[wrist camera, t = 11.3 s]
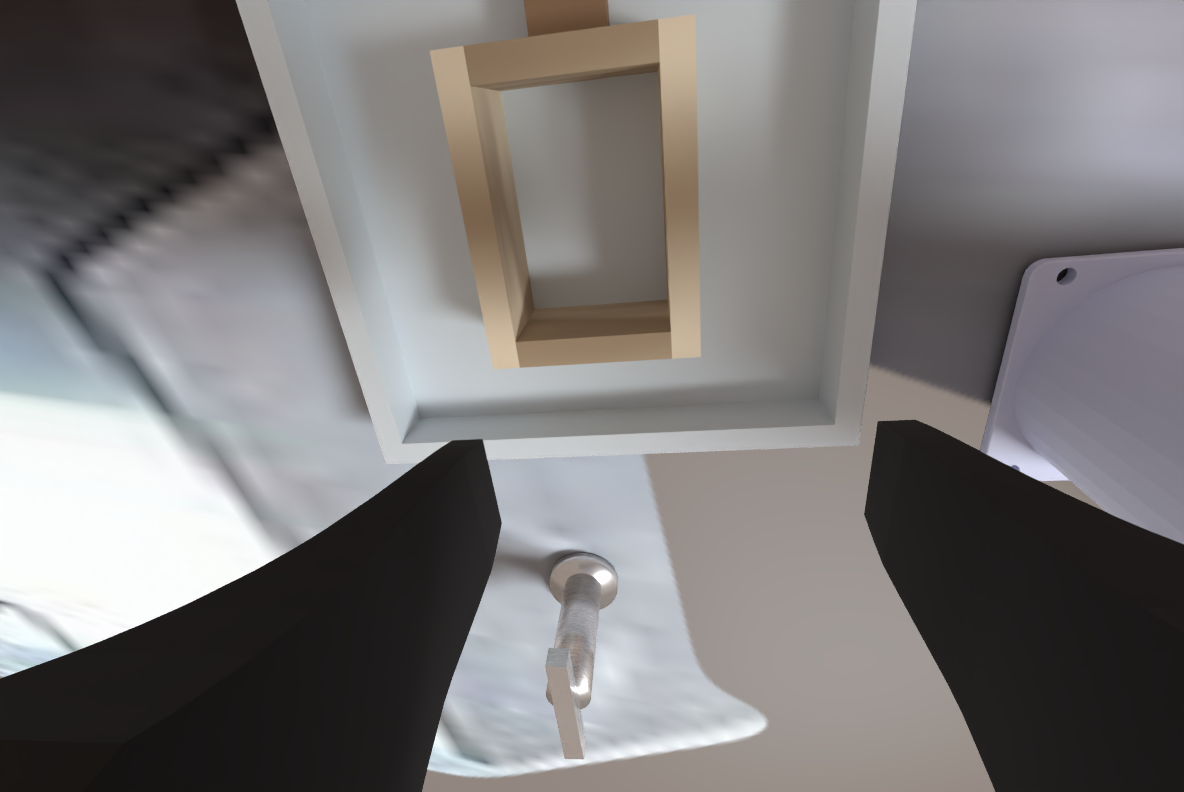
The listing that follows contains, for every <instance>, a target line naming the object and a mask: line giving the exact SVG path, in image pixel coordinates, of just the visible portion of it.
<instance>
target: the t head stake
mask: <svg viewBox="0 0 1184 792" xmlns="http://www.w3.org/2000/svg"><path fill="white" fill-rule="evenodd" d="M549 587H550V591H551V593H552V595H553V596H554V598H555V599H556V600H557V601H558V602H559V603H561V604H562V605H561V610H560V616H559V622H558V627H557V633H556V639H555V644H554V648H549V650H548V655H547V660H546V666H545V667H546V672H547V677H548V684H547V690H546V697H547V699H548V701H549V702H550V703H551V704H552V705H554V710H555V715H556V719H557V724H558V729H559V734H560V738H561V743H562V748H563V752H564V757H565V759H584V752H585V742H586V739H585V733H584V728H583V722H582V716H581V711H580V709H583V708H585V707H586V706H587V705H588V704H589V703H590V700H591V690H592V680H593V669H594V659H595V649H596V639H597V628H598V618H599V610H600V609H603V608H605V607H606V606H608V605H609V604H610V603H612V601H613V600H614V599H615V597H616V594H617V588H618V577H617V573H616V571H615V569H614V568H613V566H612V565H611V564H610V563H609V562H607V561H606V560H605V559H603V558H601V557H599V556H596V555H593V554H589V553H574V554H570V555H567V556H564V557H563V558H561V559H560V560H558V561H557V562H556V563H555V565H554V566H553V568H552V571H551V576H550V581H549Z"/></svg>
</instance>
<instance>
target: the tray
mask: <svg viewBox="0 0 1184 792" xmlns="http://www.w3.org/2000/svg"><path fill="white" fill-rule="evenodd" d="M236 3H237V6H238V9H239V12H240V15H241V18H242V22H243V25H244V28H245V31H246V34H247V37H248V40H249V43H250V46H251V49H252V52H253V55H254V59H255V62H256V65H257V68H258V71H259V74H260V77H261V80H262V83H263V86H264V89H265V92H266V96H267V99H268V102H269V105H270V108H271V111H272V114H273V117H274V120H275V123H276V126H277V129H278V133H279V136H280V139H281V142H282V145H283V148H284V151H285V154H286V157H287V160H288V163H289V166H290V169H291V173H292V176H293V179H294V182H295V185H296V188H297V191H298V194H299V197H300V200H301V203H302V206H303V210H304V213H305V216H306V219H307V222H308V225H309V228H310V231H311V234H312V237H313V240H314V243H315V247H316V250H317V253H318V256H319V259H320V262H321V265H322V268H323V271H324V274H325V277H326V280H327V284H328V287H329V290H330V293H331V296H332V299H333V302H334V305H335V308H336V311H337V314H338V317H339V321H340V324H341V327H342V330H343V333H344V336H345V339H346V342H347V345H348V348H349V351H350V354H351V358H352V361H353V364H354V367H355V370H356V373H357V376H358V379H359V382H360V385H361V388H362V391H363V395H364V398H365V401H366V404H367V407H368V410H369V413H370V416H371V419H372V422H373V425H374V428H375V431H376V435H377V438H378V441H379V444H380V447H381V450H382V453H383V456H384V459H385V462H386V464H399V463H420V462H421V461H423V460H424V459H425V458H427V457H428V456H429V455H431V454H432V453H434V452H435V451H437V450H438V449H439V448H441V447H442V446H444V445H446V444H447V443H449V442H451V441H452V440H471V439H483V443H484V447H485V452H486V456H487V460H501V459H526V458H552V457H577V456H603V455H628V454H652V453H676V452H677V453H679V452H703V451H730V450H752V449H753V450H755V449H781V448H805V447H831V446H854V445H855V446H857V445H859V439H860V432H861V424H862V416H863V409H864V401H865V394H866V386H867V378H868V371H869V363H870V355H871V348H872V340H873V333H874V325H875V317H876V310H877V302H878V295H879V287H880V279H881V272H882V264H883V256H884V249H885V241H886V234H887V226H888V218H889V211H890V203H891V196H892V188H893V180H894V173H895V165H896V157H897V150H898V142H899V135H900V127H901V119H902V112H903V104H904V97H905V89H906V81H907V74H908V66H909V58H910V51H911V43H912V36H913V28H914V20H915V13H916V5H917V0H608V7H609V21H610V26H612V25H619V24H627V23H634V22H641V21H648V20H656V19H663V18H670V17H678V16H685V15H692V14H696V74H697V137H698V201H699V265H700V328H701V357H693V358H676V359H659V360H642V361H625V362H608V363H592V364H575V365H558V366H541V367H524V368H507V369H493V365H492V360H491V355H490V350H489V345H488V340H487V335H486V330H485V325H484V320H483V315H482V310H481V305H480V300H479V295H478V290H477V285H476V280H475V275H474V270H473V265H472V260H471V255H470V250H469V245H468V240H467V235H466V230H465V225H464V220H463V215H462V210H461V205H460V200H459V195H458V190H457V185H456V180H455V175H454V170H453V165H452V160H451V155H450V150H449V145H448V140H447V135H446V130H445V126H444V121H443V116H442V111H441V106H440V101H439V96H438V91H437V86H436V81H435V76H434V71H433V66H432V61H431V56H430V50H437V49H444V48H452V47H459V46H466V45H473V44H481V43H488V42H495V41H503V40H510V39H517V38H525V37H528V30H527V23H526V15H525V7H524V0H236ZM501 97H502V103H503V110H504V116H505V122H506V129H507V135H508V142H509V148H510V155H511V161H512V167H513V174H514V180H515V187H516V193H517V200H518V206H519V213H520V219H521V225H522V232H523V238H524V245H525V251H526V258H527V264H528V270H529V277H530V283H531V290H532V296H533V303H534V309H545V308H559V307H572V306H586V305H600V304H614V303H627V302H641V301H655V300H667V278H666V255H665V231H664V208H663V185H662V161H661V138H660V115H659V92H658V72H651V73H643V74H635V75H627V76H619V77H611V78H603V79H595V80H587V81H579V82H571V83H563V84H555V85H547V86H539V87H531V88H523V89H515V90H507V91H501Z"/></svg>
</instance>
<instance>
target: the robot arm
mask: <svg viewBox="0 0 1184 792" xmlns="http://www.w3.org/2000/svg"><path fill="white" fill-rule="evenodd" d="M1066 268H1067V269H1068V273H1067V274H1066V276H1065V277H1064V278H1063V279H1062V280H1060V281H1057V276H1058V274H1059V273H1060V272H1061V271H1062V270H1063V269H1066ZM1011 465H1013V466H1012V467H1010V466H1011ZM1057 480H1070V481H1071V482H1072V483H1074V484H1075V485H1076V486H1077V487H1078V488H1079V489H1081V490H1082V491H1083V492H1084V493H1085V494H1086V495H1088V496H1089V497H1090V498H1091V499H1092V500H1093V501H1094V502H1096V503H1097V504H1098V505H1099V506H1100V507H1101V508H1103V509H1104V510H1105V511H1106V512H1105V511H1102V510H1100V509H1098V508H1096V507H1093V506H1091V505H1089V504H1087V503H1085V502H1082V501H1080V500H1078V499H1076V498H1074V497H1071V496H1069V495H1067V494H1065V493H1063V492H1061V491H1059V490H1057V489H1055V488H1053V487H1051V486H1048V485H1046V484H1044V483H1042V482H1040V481H1057ZM864 515H865V518H866V520H867V523H868V526H869V529H870V532H871V535H872V537H873V540H874V543H875V545H876V548H877V550H878V553H879V555H880V558H881V561H882V563H883V565H884V567H885V569H886V571H887V573H888V575H889V577H890V579H891V581H892V583H893V584H894V586H895V588H896V590H897V592H898V594H899V596H900V597H901V599H902V601H903V603H904V605H905V607H906V609H907V610H908V612H909V614H910V616H911V618H912V620H913V621H914V623H915V625H916V627H917V628H918V631H919V632H920V634H921V636H922V638H923V640H924V641H925V643H926V645H927V647H928V649H929V650H930V652H931V654H932V656H933V658H934V660H935V662H936V663H937V665H938V667H939V669H940V670H941V672H942V674H943V676H944V678H945V680H946V682H947V683H948V685H949V687H950V689H951V691H952V694H953V695H954V698H955V700H956V702H957V704H958V705H959V708H960V710H961V712H962V714H963V716H964V718H965V721H966V723H967V725H968V728H969V730H970V732H971V735H972V737H973V740H974V742H975V744H976V746H977V749H978V751H979V754H980V756H981V758H982V761H983V763H984V765H985V768H986V770H987V772H988V775H989V777H990V779H991V782H992V784H993V787H994V789H995V792H1184V248H1175V249H1162V250H1149V251H1136V252H1123V253H1110V254H1097V255H1084V256H1071V257H1058V258H1045V259H1041V260H1038V261H1036V262H1034V263H1033V264H1031V265H1030V266H1029V267H1028V268H1027V269H1026V271H1025V273H1024V275H1023V278H1022V282H1021V286H1020V290H1019V294H1018V298H1017V302H1016V306H1015V311H1014V315H1013V319H1012V323H1011V327H1010V331H1009V335H1008V339H1007V343H1006V347H1005V351H1004V355H1003V359H1002V363H1001V367H1000V371H999V375H998V379H997V383H996V387H995V391H994V395H993V399H992V403H991V407H990V412H989V415H988V419H987V424H986V428H985V432H984V436H983V440H982V444H981V448H980V451H979V450H977V449H975V448H973V447H971V446H969V445H967V444H965V443H963V442H961V441H960V440H957V439H956V438H954V437H952V436H950V435H947V434H945V433H944V432H942V431H940V430H937V429H935V428H933V427H931V426H929V425H927V424H924V423H922V422H919V421H917V420H899V421H878V424H877V431H876V438H875V445H874V452H873V458H872V465H871V472H870V479H869V486H868V493H867V500H866V506H865V513H864ZM501 524H502V523H501V518H500V514H499V509H498V505H497V500H496V496H495V491H494V487H493V483H492V478H491V474H490V469H489V465H488V460H487V456H486V452H485V447H484V443H483V439H471V440H452V441H451V442H449V443H447V444H446V445H444V446H442V447H441V448H439V449H438V450H437V451H435V452H434V453H432V454H431V455H429V456H428V457H427V458H425V459H424V460H423V461H421V462H420V463H419V464H417V465H416V466H414V467H413V468H412V469H410V470H409V471H408V472H406V473H405V474H404V475H402V476H401V477H400V478H398V479H397V480H395V481H394V482H393V483H391V484H390V485H389V486H387V487H386V488H385V489H383V490H382V491H381V492H379V493H378V494H376V495H375V496H374V497H372V498H371V499H369V500H368V501H366V502H365V503H363V504H362V505H360V506H359V507H358V508H356V509H355V510H353V511H352V512H350V513H349V514H347V515H346V516H344V517H343V518H341V519H340V520H338V521H337V522H335V523H334V524H332V525H331V526H329V527H328V528H327V529H325V530H323V531H322V532H320V533H319V534H317V535H316V536H314V537H312V538H311V539H309V540H307V541H306V542H304V543H302V544H301V545H299V546H297V547H296V548H294V549H292V550H291V551H289V552H287V553H285V554H283V555H282V556H280V557H278V558H276V559H275V560H273V561H271V562H269V563H268V564H266V565H264V566H262V567H260V568H259V569H257V570H255V571H253V572H251V573H249V574H247V575H245V576H243V577H241V578H239V579H237V580H235V581H233V582H231V583H229V584H227V585H225V586H223V587H221V588H219V589H217V590H215V591H213V592H211V593H209V594H207V595H205V596H203V597H201V598H199V599H197V600H195V601H193V602H191V603H189V604H186V605H184V606H182V607H180V608H178V609H176V610H173V611H171V612H169V613H166V614H164V615H162V616H160V617H157V618H155V619H153V620H151V621H148V622H146V623H144V624H142V625H139V626H137V627H134V628H132V629H129V630H127V631H125V632H122V633H120V634H117V635H115V636H113V637H110V638H108V639H105V640H103V641H100V642H98V643H95V644H93V645H90V646H88V647H85V648H83V649H80V650H78V651H75V652H72V653H70V654H67V655H64V656H62V657H59V658H56V659H53V660H51V661H48V662H45V663H42V664H39V665H37V666H34V667H31V668H28V669H26V670H23V671H20V672H17V673H15V674H12V675H9V676H6V677H4V678H1V679H0V792H422V789H423V784H424V780H425V776H426V772H427V767H428V763H429V759H430V755H431V751H432V748H433V744H434V740H435V736H436V732H437V728H438V724H439V721H440V717H441V713H442V709H443V705H444V702H445V699H446V696H447V692H448V689H449V686H450V683H451V680H452V677H453V674H454V672H455V669H456V666H457V663H458V661H459V658H460V655H461V653H462V650H463V647H464V644H465V642H466V639H467V636H468V634H469V631H470V628H471V625H472V623H473V620H474V617H475V615H476V612H477V609H478V606H479V604H480V601H481V598H482V595H483V593H484V590H485V587H486V584H487V581H488V579H489V576H490V573H491V570H492V566H493V562H494V557H495V553H496V549H497V544H498V539H499V534H500V529H501Z"/></svg>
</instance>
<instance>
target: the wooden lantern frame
mask: <svg viewBox="0 0 1184 792" xmlns="http://www.w3.org/2000/svg"><path fill="white" fill-rule="evenodd" d="M524 7H525V15H526V23H527V30H528V37H525V38H517V39H510V40H503V41H495V42H488V43H481V44H473V45H466V46H459V47H452V48H444V49H437V50H430V56H431V61H432V66H433V71H434V76H435V81H436V86H437V91H438V96H439V101H440V106H441V111H442V116H443V121H444V126H445V130H446V135H447V140H448V145H449V150H450V155H451V160H452V165H453V170H454V175H455V180H456V185H457V190H458V195H459V200H460V205H461V210H462V215H463V220H464V225H465V230H466V235H467V240H468V245H469V250H470V255H471V260H472V265H473V270H474V275H475V280H476V285H477V290H478V295H479V300H480V305H481V310H482V315H483V320H484V325H485V330H486V335H487V340H488V345H489V350H490V355H491V360H492V365H493V369H507V368H524V367H541V366H558V365H575V364H592V363H608V362H625V361H642V360H659V359H676V358H693V357H701V328H700V265H699V201H698V137H697V74H696V14H692V15H685V16H678V17H670V18H663V19H656V20H648V21H641V22H634V23H627V24H619V25H612V26H610V21H609V7H608V0H524ZM651 72H658V92H659V115H660V138H661V161H662V185H663V208H664V231H665V255H666V278H667V300H655V301H641V302H627V303H614V304H600V305H586V306H572V307H559V308H545V309H534V303H533V296H532V290H531V283H530V277H529V270H528V264H527V258H526V251H525V245H524V238H523V232H522V225H521V219H520V213H519V206H518V200H517V193H516V187H515V180H514V174H513V167H512V161H511V155H510V148H509V142H508V135H507V129H506V122H505V116H504V110H503V103H502V97H501V91H507V90H515V89H523V88H531V87H539V86H547V85H555V84H563V83H571V82H579V81H587V80H595V79H603V78H611V77H619V76H627V75H635V74H643V73H651Z"/></svg>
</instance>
